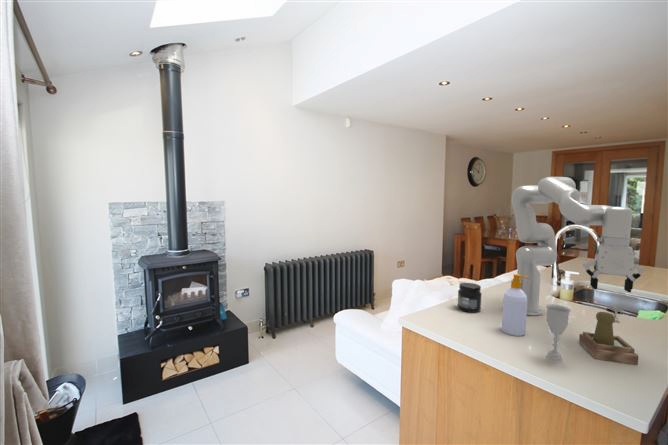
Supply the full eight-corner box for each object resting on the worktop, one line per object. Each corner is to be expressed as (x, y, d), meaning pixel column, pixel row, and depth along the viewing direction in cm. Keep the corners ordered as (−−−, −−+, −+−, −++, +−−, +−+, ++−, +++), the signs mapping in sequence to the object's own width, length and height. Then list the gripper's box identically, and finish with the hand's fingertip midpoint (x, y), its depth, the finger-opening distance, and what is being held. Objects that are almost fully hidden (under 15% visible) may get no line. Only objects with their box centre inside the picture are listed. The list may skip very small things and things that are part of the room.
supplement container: (476, 306, 165) (477, 282, 164) (483, 313, 155) (485, 288, 154) (454, 305, 166) (455, 281, 165) (460, 312, 156) (461, 287, 155)
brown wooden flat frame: (594, 358, 113) (595, 345, 113) (579, 341, 127) (580, 330, 126) (637, 364, 110) (638, 351, 109) (617, 346, 123) (618, 334, 122)
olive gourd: (618, 347, 115) (621, 316, 114) (598, 345, 116) (601, 315, 115) (607, 339, 121) (609, 310, 120) (588, 338, 122) (591, 309, 121)
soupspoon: (623, 313, 161) (606, 310, 165) (623, 306, 161) (606, 303, 165) (626, 325, 144) (606, 322, 148) (626, 317, 143) (606, 314, 148)
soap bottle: (518, 338, 129) (522, 278, 126) (496, 329, 137) (499, 273, 135) (532, 334, 133) (535, 276, 130) (510, 325, 141) (513, 271, 139)
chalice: (537, 354, 116) (540, 304, 115) (555, 353, 117) (559, 303, 115) (553, 364, 109) (556, 311, 107) (572, 364, 110) (576, 311, 108)
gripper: (589, 242, 115) (585, 290, 117) (652, 245, 109) (647, 295, 111) (581, 239, 122) (577, 284, 124) (640, 242, 116) (635, 289, 118)
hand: (610, 289), depth 117 cm, fingers open, 9 cm apart
